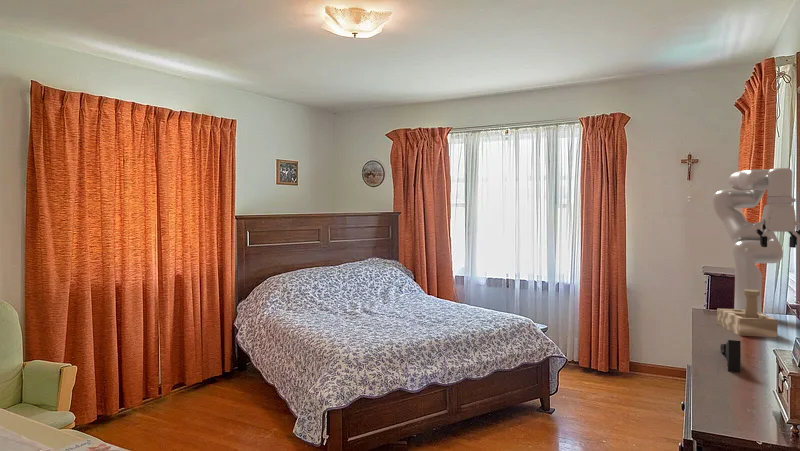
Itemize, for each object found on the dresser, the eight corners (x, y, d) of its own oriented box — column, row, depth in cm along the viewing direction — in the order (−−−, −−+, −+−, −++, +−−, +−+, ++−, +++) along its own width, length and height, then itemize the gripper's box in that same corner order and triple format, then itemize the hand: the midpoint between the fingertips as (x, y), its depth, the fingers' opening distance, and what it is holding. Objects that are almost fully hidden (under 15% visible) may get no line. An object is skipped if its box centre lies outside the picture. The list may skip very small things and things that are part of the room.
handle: (759, 331, 198) (760, 290, 197) (757, 334, 192) (759, 292, 192) (743, 329, 200) (744, 288, 200) (741, 332, 195) (742, 290, 195)
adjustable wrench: (729, 368, 168) (740, 372, 146) (719, 367, 169) (728, 371, 147) (729, 340, 169) (740, 341, 147) (719, 340, 170) (728, 339, 148)
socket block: (716, 323, 211) (717, 308, 211) (750, 325, 209) (751, 309, 209) (739, 335, 191) (739, 318, 191) (777, 337, 189) (777, 319, 189)
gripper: (799, 201, 206) (798, 247, 206) (749, 201, 209) (748, 246, 209) (810, 201, 198) (809, 248, 199) (758, 201, 201) (757, 247, 202)
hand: (778, 247), depth 204 cm, fingers open, 9 cm apart
